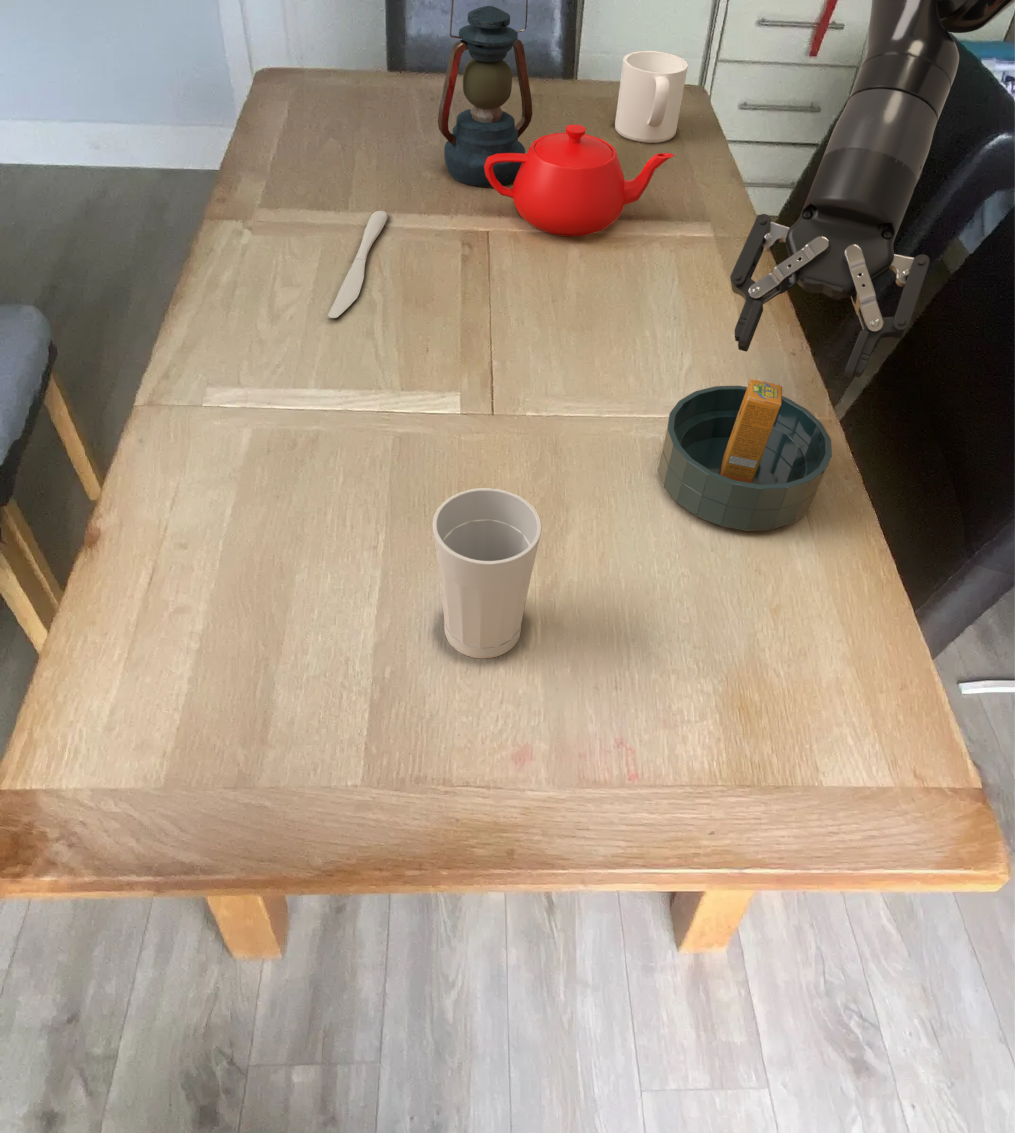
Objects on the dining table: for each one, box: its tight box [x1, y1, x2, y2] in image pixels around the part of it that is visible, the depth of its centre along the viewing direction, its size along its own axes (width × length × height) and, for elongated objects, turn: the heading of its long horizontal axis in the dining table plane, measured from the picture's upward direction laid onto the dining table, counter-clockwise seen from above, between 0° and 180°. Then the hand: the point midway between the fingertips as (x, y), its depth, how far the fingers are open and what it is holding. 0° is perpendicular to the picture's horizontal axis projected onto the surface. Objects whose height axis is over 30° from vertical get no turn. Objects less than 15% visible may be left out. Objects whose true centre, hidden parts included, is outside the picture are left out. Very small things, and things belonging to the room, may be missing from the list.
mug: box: [614, 50, 689, 144], centre depth 143 cm, size 13×10×10 cm
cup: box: [432, 487, 543, 659], centre depth 70 cm, size 8×8×12 cm
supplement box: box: [720, 378, 783, 483], centre depth 85 cm, size 3×4×10 cm
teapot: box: [484, 124, 675, 238], centre depth 121 cm, size 25×16×12 cm, turn 90°
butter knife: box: [327, 210, 388, 319], centre depth 114 cm, size 1×27×3 cm
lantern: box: [437, 0, 534, 188], centre depth 121 cm, size 14×12×35 cm
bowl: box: [657, 385, 833, 532], centre depth 87 cm, size 15×15×6 cm
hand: (793, 363), depth 73 cm, fingers open, 8 cm apart
